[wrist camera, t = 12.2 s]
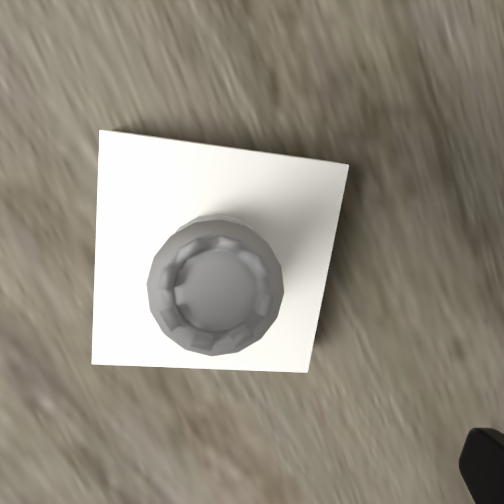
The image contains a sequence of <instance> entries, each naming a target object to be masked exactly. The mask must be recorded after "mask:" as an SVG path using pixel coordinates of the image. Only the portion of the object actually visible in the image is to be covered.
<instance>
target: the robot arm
mask: <svg viewBox="0 0 504 504" xmlns="http://www.w3.org/2000/svg"><path fill="white" fill-rule="evenodd" d="M459 469H460V473H461V475H462V477H463V479H464V481H465V483H466V485H467V487H468V489H469V491H470V493H471V495H472V498H473V500H474V502H475V504H504V434H503V433H501V432H499V431H497V430H495V429H492V428H473V429H471V430H470V431H469V433H468V435H467V438H466V441H465V444H464V447H463V449H462V452H461V455H460V458H459Z"/></svg>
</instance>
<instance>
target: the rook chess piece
mask: <svg viewBox="0 0 504 504" xmlns="http://www.w3.org/2000/svg"><path fill="white" fill-rule="evenodd" d="M146 285H147V292H148V300H149V307H150V312H151V313H152V315H153V317H154V318H155V320H156V322H157V323H158V325H159V327H160V328H161V330H162V332H163V334H165V335H166V336H167V337H169V338H170V339H171V340H173V341H174V342H175V343H177V344H178V345H179V346H181V347H182V348H183V349H185V350H188V351H192V352H196V353H200V354H204V355H208V356H218V355H224V354H231V353H238V352H240V351H241V350H243V349H245V348H247V347H248V346H250V345H252V344H253V343H255V342H257V341H258V340H260V339H261V338H262V337H263V336H264V335H265V333H266V332H267V331H268V329H269V328H270V327H271V325H272V324H273V323H274V322H275V320H276V319H277V317H278V314H279V310H280V306H281V303H282V299H283V295H284V285H283V277H282V269H281V265H280V263H279V261H278V260H277V258H276V256H275V254H274V252H273V251H272V249H271V247H270V245H269V244H268V242H266V241H265V240H264V239H262V237H261V236H260V234H259V233H258V232H257V231H255V230H254V229H253V228H252V227H250V226H249V225H248V224H246V223H245V222H244V221H243V220H241V219H237V218H234V217H230V216H227V215H223V214H215V215H206V216H199V217H197V218H195V219H193V220H192V221H190V222H188V223H186V224H184V225H183V226H181V227H179V228H178V229H177V231H176V232H175V233H174V234H173V235H171V236H170V237H169V238H168V240H167V241H166V242H165V243H164V245H163V246H162V247H161V249H160V250H159V251H158V252H157V254H156V255H155V256H154V258H153V261H152V265H151V269H150V272H149V276H148V279H147V283H146Z"/></svg>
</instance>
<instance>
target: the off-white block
mask: <svg viewBox="0 0 504 504" xmlns="http://www.w3.org/2000/svg"><path fill="white" fill-rule="evenodd" d="M348 169H349V165H347V164H342V163H337V162H333V161H326V160H319V159H312V158H305V157H298V156H291V155H284V154H277V153H269V152H262V151H255V150H248V149H241V148H234V147H227V146H220V145H213V144H205V143H198V142H191V141H184V140H177V139H170V138H163V137H156V136H149V135H142V134H134V133H127V132H120V131H113V130H100V133H99V162H98V192H97V221H96V251H95V280H94V310H93V339H92V364H99V365H125V366H150V367H176V368H202V369H227V370H253V371H279V372H304V373H308V368H309V363H310V358H311V353H312V348H313V343H314V338H315V333H316V328H317V323H318V318H319V313H320V308H321V303H322V298H323V293H324V288H325V283H326V278H327V273H328V268H329V263H330V258H331V253H332V248H333V243H334V238H335V233H336V228H337V223H338V218H339V213H340V208H341V203H342V198H343V193H344V188H345V183H346V178H347V174H348ZM215 214H223V215H227V216H230V217H234V218H237V219H241V220H243V221H244V222H245V223H246V224H248V225H249V226H250V227H252V228H253V229H254V230H255V231H257V232H258V233H259V234H260V236H261V237H262V239H264V240H265V241H266V242H268V244H269V245H270V247H271V249H272V251H273V252H274V254H275V256H276V258H277V260H278V261H279V263H280V265H281V269H282V277H283V285H284V295H283V299H282V303H281V306H280V310H279V314H278V317H277V319H276V320H275V322H274V323H273V324H272V325H271V327H270V328H269V329H268V331H267V332H266V333H265V335H264V336H263V337H262V338H261V339H260V340H258V341H257V342H255V343H253V344H252V345H250V346H248V347H247V348H245V349H243V350H241V351H240V352H238V353H231V354H224V355H218V356H208V355H204V354H200V353H196V352H192V351H188V350H185V349H183V348H182V347H181V346H179V345H178V344H177V343H175V342H174V341H173V340H171V339H170V338H169V337H167V336H166V335H165V334H163V332H162V330H161V328H160V327H159V325H158V323H157V322H156V320H155V318H154V317H153V315H152V313H151V312H150V307H149V300H148V292H147V285H146V283H147V279H148V276H149V272H150V269H151V265H152V261H153V258H154V256H155V255H156V254H157V252H158V251H159V250H160V249H161V247H162V246H163V245H164V243H165V242H166V241H167V240H168V238H169V237H170V236H171V235H173V234H174V233H175V232H176V231H177V229H178V228H179V227H181V226H183V225H184V224H186V223H188V222H190V221H192V220H193V219H195V218H197V217H199V216H206V215H215Z"/></svg>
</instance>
